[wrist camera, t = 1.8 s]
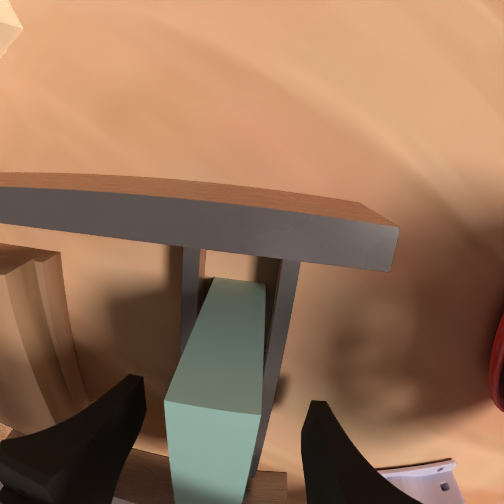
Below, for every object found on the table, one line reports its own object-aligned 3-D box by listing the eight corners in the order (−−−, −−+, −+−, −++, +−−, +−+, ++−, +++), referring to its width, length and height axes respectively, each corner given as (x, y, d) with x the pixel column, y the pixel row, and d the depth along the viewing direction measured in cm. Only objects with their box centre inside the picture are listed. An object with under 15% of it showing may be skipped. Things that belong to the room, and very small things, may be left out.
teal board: (265, 283, 13) (260, 415, 6) (241, 445, 16) (229, 553, 9) (214, 276, 13) (164, 400, 6) (205, 440, 16) (182, 546, 9)
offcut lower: (67, 248, 13) (42, 262, 11) (95, 406, 16) (82, 428, 14) (-12, 237, 13) (-35, 248, 11) (23, 381, 16) (8, 398, 14)
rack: (359, 203, 11) (399, 227, 8) (283, 481, 17) (283, 532, 13) (-21, 173, 12) (-77, 185, 8) (32, 421, 17) (7, 456, 13)
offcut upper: (34, 258, 11) (4, 275, 9) (83, 427, 14) (69, 451, 12) (-39, 252, 12) (-65, 264, 10) (10, 401, 15) (-5, 419, 13)
